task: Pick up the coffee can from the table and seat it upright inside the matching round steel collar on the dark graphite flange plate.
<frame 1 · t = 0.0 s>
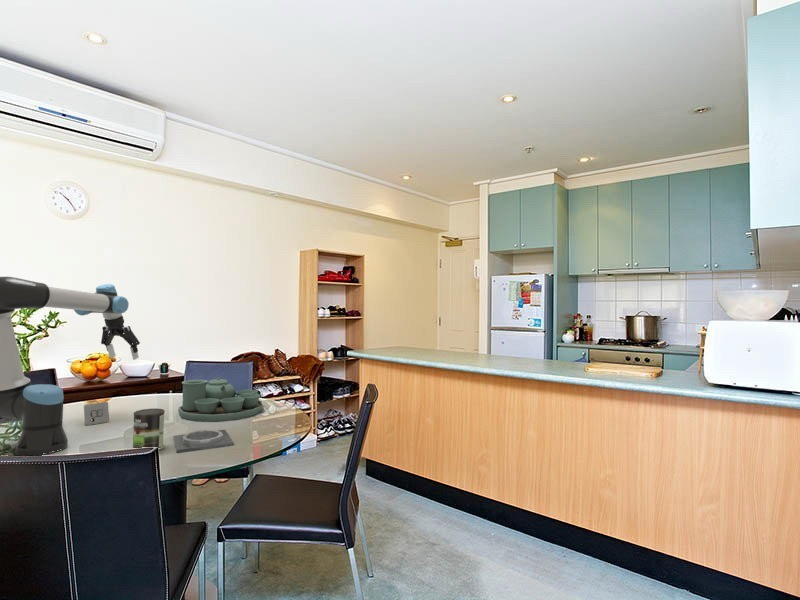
hand: (124, 357, 216), 28 cm above the table, tool tilted 20°, fingers open, 13 cm apart
flange base: (202, 441, 178), on the table
coffee can: (148, 449, 168), on the table
electrical switch: (95, 423, 201), on the table
tea set: (222, 412, 227), on the table
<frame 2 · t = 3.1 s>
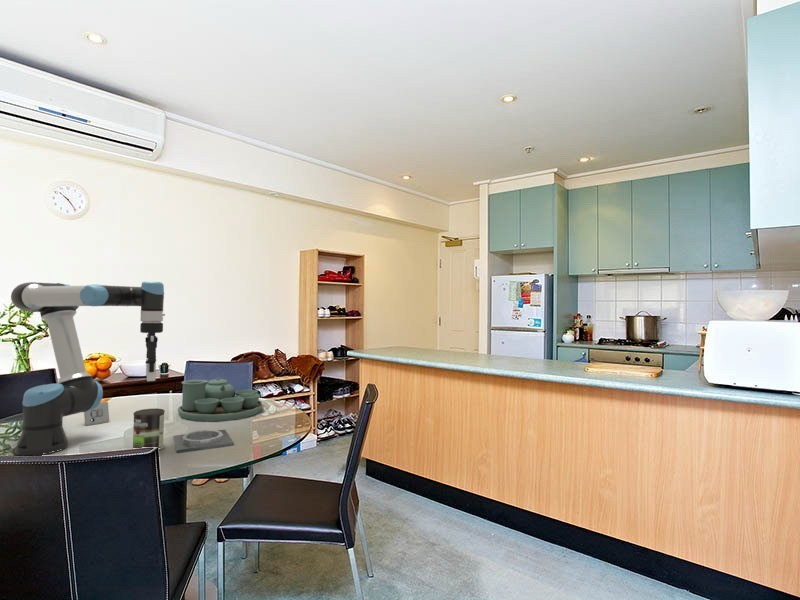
hand: (150, 378, 169), 27 cm above the table, tool pointing down, fingers open, 13 cm apart
nothing on the table moved.
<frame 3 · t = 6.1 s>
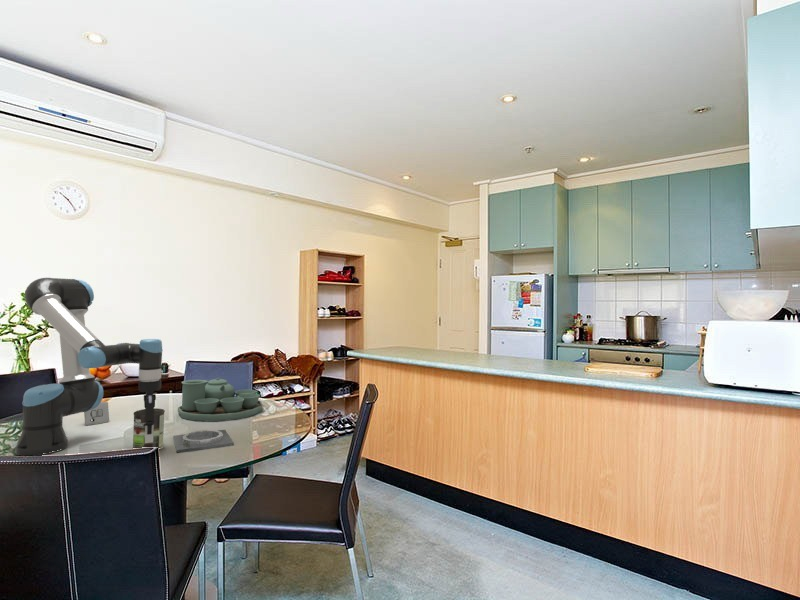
hand: (148, 438, 168), 4 cm above the table, tool pointing down, fingers closed on coffee can, 10 cm apart
coffee can: (148, 449, 168), on the table, touching gripper
everything else where it was.
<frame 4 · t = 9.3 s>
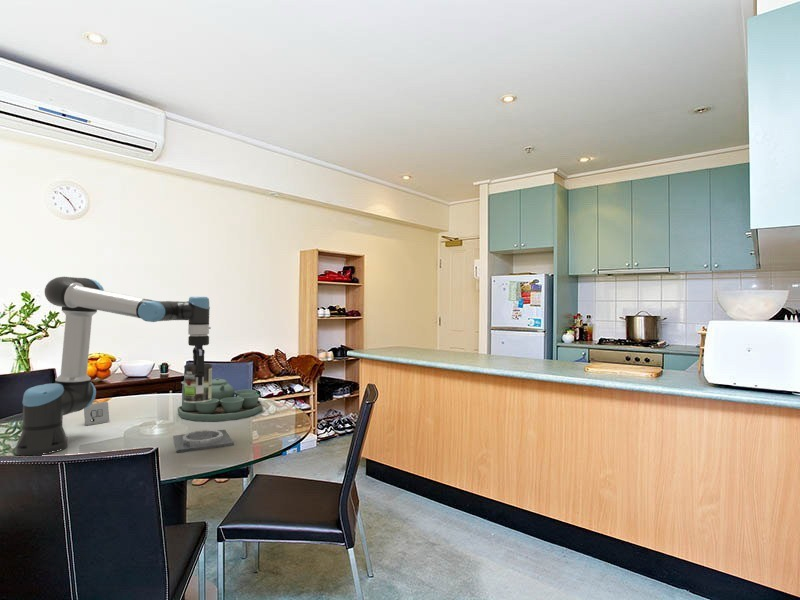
hand: (198, 391, 177), 20 cm above the table, tool pointing down, fingers closed on coffee can, 10 cm apart
coffee can: (198, 401, 177), point 17 cm above the table, touching gripper
everything else where it was.
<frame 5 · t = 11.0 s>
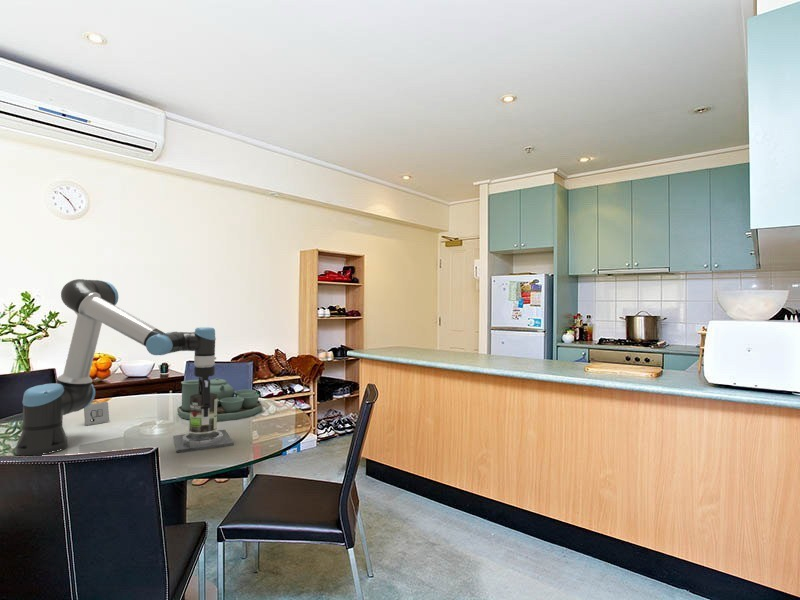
hand: (203, 421, 178), 8 cm above the table, tool pointing down, fingers closed on coffee can, 10 cm apart
coffee can: (203, 431, 178), point 4 cm above the table, touching gripper
everything else where it was.
when the fingers open (6 cm above the table, at t = 12.4 s): coffee can stays where it is, resting on flange base.
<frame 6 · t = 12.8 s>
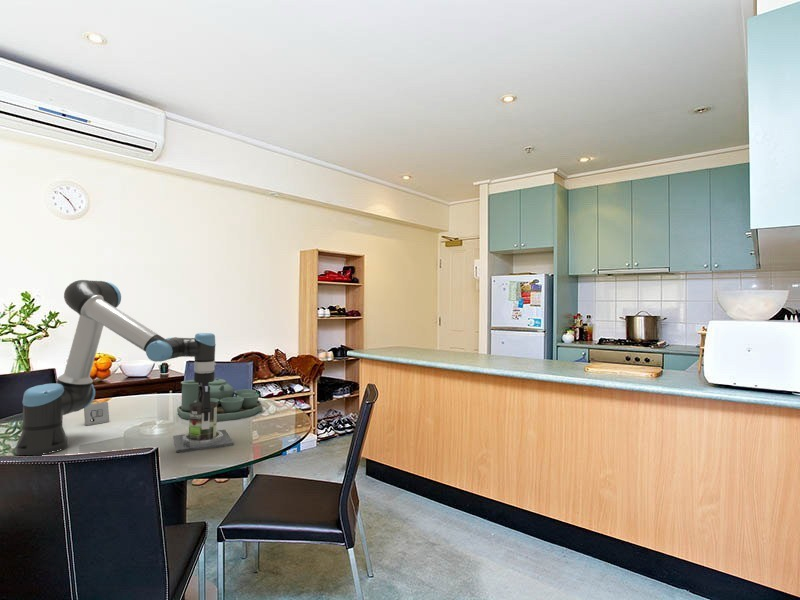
hand: (203, 424, 178), 7 cm above the table, tool pointing down, fingers open, 13 cm apart
coffee can: (202, 439, 178), point 1 cm above the table, touching flange base
everything else where it was.
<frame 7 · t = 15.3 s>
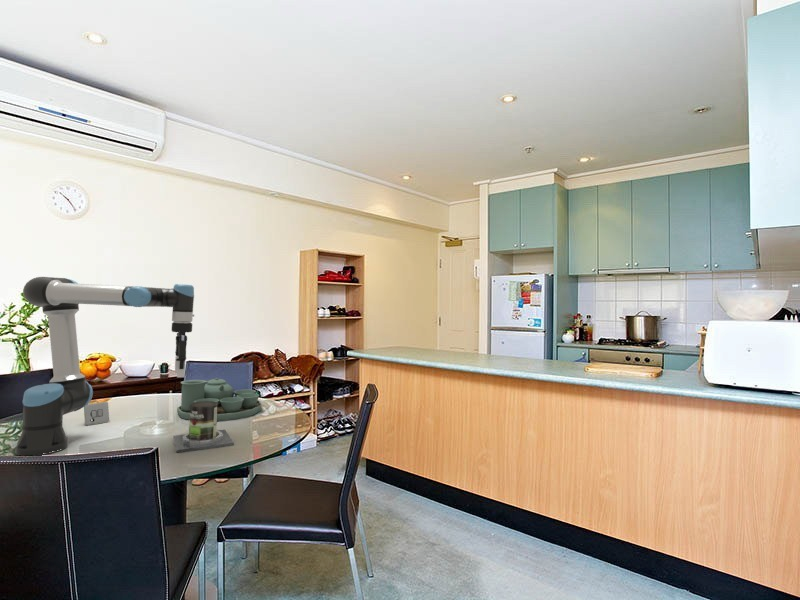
hand: (179, 374, 180), 26 cm above the table, tool pointing down, fingers open, 13 cm apart
nothing on the table moved.
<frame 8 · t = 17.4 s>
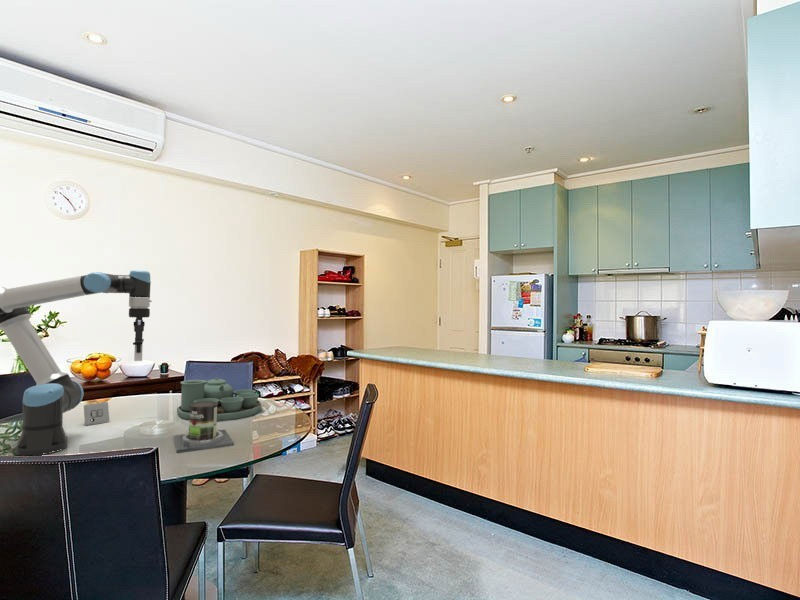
hand: (138, 358, 185), 32 cm above the table, tool pointing down, fingers open, 13 cm apart
nothing on the table moved.
at the end: coffee can 0.1 cm off-centre on the flange base, point 0.8 cm above the flange base's base; coffee can tilted 0°; the gripper is holding nothing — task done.
